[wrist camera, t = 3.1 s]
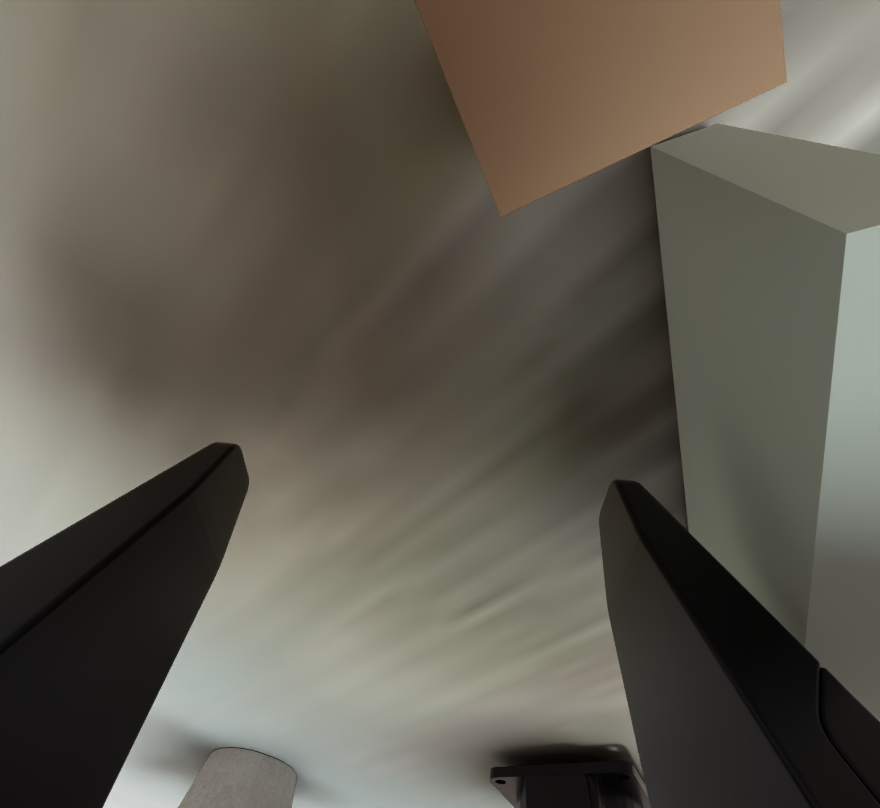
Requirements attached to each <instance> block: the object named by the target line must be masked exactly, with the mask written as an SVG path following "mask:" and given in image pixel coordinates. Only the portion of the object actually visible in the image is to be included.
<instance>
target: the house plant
mask: <svg viewBox="0 0 880 808" xmlns="http://www.w3.org/2000/svg"><path fill="white" fill-rule="evenodd" d="M296 778H297V776H296V773H295V772H294V770H293V769H292V768H291V767H289V766H288V765H287V764H285V763H283V762H281V761H279V760H277V759H275V758H272V757H269V756H267V755H264V754H261V753H258V752H255V751H251V750H245V749H239V748H222V749H218V750H215V751H213V752H212V753H211V754H210V755H209V757H208V759H207V760H206V762H205V764H204V765H203V767H202V769H201V770H200V772H199V774H198V775H197V777H196V779H195V780H194V782H193V784H192V785H191V787H190V789H189V790H188V792H187V794H186V795H185V797H184V799H183V800H182V802H181V804H180V805H179V807H178V808H291V807H292V801H293V796H294V790H295V784H296Z"/></svg>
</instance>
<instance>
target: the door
mask: <svg viewBox="0 0 880 808" xmlns="http://www.w3.org/2000/svg"><path fill="white" fill-rule="evenodd" d="M650 148H651V158H652V168H653V178H654V188H655V198H656V208H657V218H658V228H659V238H660V248H661V259H662V269H663V279H664V289H665V299H666V309H667V319H668V329H669V339H670V349H671V359H672V369H673V379H674V389H675V399H676V409H677V419H678V429H679V439H680V449H681V459H682V470H683V480H684V490H685V500H686V510H687V520H688V530H689V533H690V534H691V535H692V536H693V537H694V538H695V539H696V540H697V541H698V542H699V543H700V544H701V545H702V546H703V547H704V548H705V549H706V550H707V551H708V552H709V553H710V554H711V555H712V556H713V557H714V558H715V559H716V560H717V561H718V562H719V563H720V564H721V565H722V566H724V567H725V568H726V569H727V570H728V571H729V572H730V573H731V574H732V575H733V576H734V577H735V578H736V579H737V580H738V581H739V582H740V583H741V584H742V585H743V586H744V587H745V588H746V589H747V590H748V591H749V592H750V593H751V594H752V595H753V596H754V597H755V598H756V599H757V600H758V601H759V602H760V603H761V604H762V605H763V606H764V607H765V608H766V609H767V610H768V611H769V612H770V613H771V614H772V615H773V616H774V617H775V618H776V619H777V620H778V621H779V622H780V623H781V624H782V625H783V626H784V627H785V628H786V629H787V630H788V631H789V632H790V633H791V634H792V635H793V636H794V637H795V638H796V639H797V640H798V641H799V642H800V643H801V644H802V645H803V646H804V647H805V648H806V649H807V650H808V651H809V652H810V653H811V654H812V655H813V656H814V657H815V658H816V659H817V660H818V661H819V663H820V668H821V667H823V668H826V669H827V670H828V671H829V672H830V673H831V674H832V675H833V676H834V677H835V678H836V679H837V680H838V681H839V682H840V683H841V684H842V685H843V686H844V687H845V688H846V689H847V690H848V691H849V692H850V693H851V694H852V695H853V696H854V697H855V698H856V699H857V700H858V701H860V702H861V703H862V704H863V705H864V706H865V707H866V708H867V709H868V710H869V711H870V712H871V713H872V714H873V715H874V716H875V717H876V718H877V719H878V720H880V155H877V154H872V153H867V152H861V151H856V150H851V149H846V148H841V147H836V146H830V145H825V144H820V143H815V142H810V141H805V140H799V139H794V138H789V137H784V136H779V135H773V134H768V133H763V132H758V131H753V130H748V129H742V128H737V127H732V126H727V125H722V124H715V125H712V126H709V127H706V128H703V129H700V130H697V131H694V132H691V133H688V134H685V135H682V136H679V137H677V138H674V139H671V140H668V141H665V142H662V143H659V144H656V145H653V146H650Z"/></svg>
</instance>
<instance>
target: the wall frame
mask: <svg viewBox="0 0 880 808" xmlns="http://www.w3.org/2000/svg"><path fill="white" fill-rule="evenodd" d="M414 1H415V3H416V6H417V8H418V11H419V13H420V16H421V18H422V21H423V23H424V26H425V28H426V31H427V33H428V36H429V38H430V41H431V43H432V46H433V48H434V51H435V53H436V56H437V58H438V61H439V63H440V66H441V68H442V71H443V73H444V76H445V78H446V81H447V83H448V86H449V88H450V91H451V93H452V96H453V98H454V101H455V103H456V106H457V108H458V111H459V113H460V116H461V118H462V121H463V123H464V126H465V128H466V131H467V133H468V136H469V138H470V141H471V143H472V146H473V148H474V151H475V153H476V156H477V158H478V161H479V163H480V166H481V169H482V171H483V174H484V176H485V179H486V181H487V184H488V186H489V189H490V191H491V194H492V196H493V199H494V201H495V204H496V206H497V209H498V211H499V214H500V216H503V215H505V214H508V213H510V212H512V211H514V210H516V209H518V208H520V207H522V206H525V205H527V204H529V203H531V202H533V201H535V200H537V199H539V198H542V197H544V196H546V195H548V194H550V193H552V192H554V191H556V190H559V189H561V188H563V187H565V186H567V185H569V184H571V183H573V182H575V181H578V180H580V179H582V178H584V177H586V176H588V175H590V174H592V173H595V172H597V171H599V170H601V169H603V168H605V167H607V166H609V165H612V164H614V163H616V162H618V161H620V160H622V159H624V158H626V157H629V156H631V155H633V154H635V153H637V152H639V151H641V150H643V149H645V148H648V147H650V146H652V145H654V144H656V143H658V142H660V141H662V140H665V139H667V138H669V137H671V136H673V135H675V134H677V133H679V132H682V131H684V130H686V129H688V128H690V127H692V126H694V125H696V124H699V123H701V122H703V121H705V120H707V119H709V118H711V117H713V116H715V115H718V114H720V113H722V112H724V111H726V110H728V109H730V108H732V107H735V106H737V105H739V104H741V103H743V102H745V101H747V100H749V99H752V98H754V97H756V96H758V95H760V94H762V93H764V92H766V91H769V90H771V89H773V88H775V87H777V86H779V85H781V84H783V83H785V82H787V78H786V67H785V57H784V46H783V35H782V25H781V14H780V3H779V0H414Z"/></svg>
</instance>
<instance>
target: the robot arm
mask: <svg viewBox="0 0 880 808" xmlns="http://www.w3.org/2000/svg"><path fill="white" fill-rule="evenodd" d="M248 486H249V477H248V473H247V469H246V465H245V461H244V458H243V454H242V450H241V448H240V447H239V446H238V445H237V444H233V443H222V442H215V443H212V444H210V445H209V446H207V447H205V448H203V449H202V450H200V451H198V452H197V453H195V454H193V455H191V456H190V457H188V458H186V459H185V460H183V461H181V462H179V463H178V464H176V465H174V466H173V467H171V468H169V469H167V470H166V471H164V472H162V473H160V474H159V475H157V476H155V477H154V478H152V479H150V480H148V481H147V482H145V483H143V484H142V485H140V486H138V487H136V488H135V489H133V490H131V491H130V492H128V493H126V494H124V495H123V496H121V497H119V498H118V499H116V500H114V501H112V502H111V503H109V504H107V505H106V506H104V507H102V508H100V509H99V510H97V511H95V512H93V513H92V514H90V515H88V516H87V517H85V518H83V519H81V520H80V521H78V522H76V523H75V524H73V525H71V526H69V527H68V528H66V529H64V530H63V531H61V532H59V533H57V534H56V535H54V536H52V537H50V538H49V539H47V540H45V541H44V542H42V543H40V544H38V545H37V546H35V547H33V548H32V549H30V550H28V551H26V552H25V553H23V554H21V555H19V556H18V557H16V558H14V559H13V560H11V561H9V562H7V563H6V564H4V565H2V566H1V567H0V808H103V806H104V803H105V801H106V799H107V797H108V795H109V793H110V791H111V789H112V787H113V785H114V783H115V781H116V779H117V777H118V775H119V773H120V771H121V769H122V767H123V765H124V763H125V760H126V758H127V756H128V754H129V752H130V750H131V748H132V746H133V744H134V742H135V740H136V738H137V736H138V734H139V732H140V730H141V728H142V726H143V724H144V722H145V720H146V717H147V715H148V713H149V711H150V709H151V707H152V705H153V703H154V701H155V699H156V697H157V695H158V693H159V691H160V689H161V687H162V685H163V683H164V681H165V679H166V676H167V674H168V672H169V670H170V668H171V666H172V664H173V662H174V660H175V658H176V656H177V654H178V652H179V650H180V648H181V646H182V644H183V642H184V640H185V638H186V636H187V633H188V631H189V629H190V627H191V625H192V623H193V621H194V619H195V617H196V615H197V613H198V611H199V609H200V607H201V605H202V603H203V601H204V599H205V597H206V595H207V593H208V590H209V588H210V586H211V584H212V582H213V580H214V578H215V576H216V574H217V572H218V569H219V567H220V565H221V562H222V560H223V557H224V555H225V552H226V549H227V546H228V543H229V541H230V538H231V535H232V532H233V529H234V527H235V524H236V521H237V518H238V516H239V513H240V510H241V507H242V504H243V502H244V499H245V496H246V493H247V490H248ZM599 527H600V537H601V547H602V557H603V568H604V578H605V588H606V598H607V606H608V612H609V617H610V623H611V627H612V632H613V637H614V641H615V646H616V651H617V655H618V660H619V664H620V669H621V674H622V678H623V683H624V688H625V692H626V697H627V701H628V706H629V711H630V715H631V720H632V725H633V729H634V734H635V739H636V743H637V748H638V752H639V757H640V762H641V766H642V771H643V776H644V780H645V784H644V782H643V780H642V779H641V777H640V775H639V774H638V772H637V770H636V769H635V767H634V765H633V764H631V763H629V762H626V761H606V762H586V763H566V764H547V765H527V766H507V767H494V768H491V769H490V782H491V783H492V784H493V785H494V786H495V787H496V788H497V790H498V791H499V792H500V793H501V794H502V795H503V796H504V797H505V798H506V799H507V800H508V801H509V802H510V803H511V804H512V805H513V806H514V807H515V808H880V721H879V720H878V719H877V718H876V717H875V716H874V715H873V714H872V713H871V712H870V711H869V710H868V709H867V708H866V707H865V706H864V705H863V704H862V703H861V702H860V701H858V700H857V699H856V698H855V697H854V696H853V695H852V694H851V693H850V692H849V691H848V690H847V689H846V688H845V687H844V686H843V685H842V684H841V683H840V682H839V681H838V680H837V679H836V678H835V677H834V676H833V675H832V674H831V673H830V672H829V671H828V670H827V669H826V668H823V667H821V668H820V663H819V661H818V660H817V659H816V658H815V657H814V656H813V655H812V654H811V653H810V652H809V651H808V650H807V649H806V648H805V647H804V646H803V645H802V644H801V643H800V642H799V641H798V640H797V639H796V638H795V637H794V636H793V635H792V634H791V633H790V632H789V631H788V630H787V629H786V628H785V627H784V626H783V625H782V624H781V623H780V622H779V621H778V620H777V619H776V618H775V617H774V616H773V615H772V614H771V613H770V612H769V611H768V610H767V609H766V608H765V607H764V606H763V605H762V604H761V603H760V602H759V601H758V600H757V599H756V598H755V597H754V596H753V595H752V594H751V593H750V592H749V591H748V590H747V589H746V588H745V587H744V586H743V585H742V584H741V583H740V582H739V581H738V580H737V579H736V578H735V577H734V576H733V575H732V574H731V573H730V572H729V571H728V570H727V569H726V568H725V567H724V566H722V565H721V564H720V563H719V562H718V561H717V560H716V559H715V558H714V557H713V556H712V555H711V554H710V553H709V552H708V551H707V550H706V549H705V548H704V547H703V546H702V545H701V544H700V543H699V542H698V541H697V540H696V539H695V538H694V537H693V536H692V535H691V534H690V533H689V532H688V531H687V530H686V529H685V528H684V527H683V526H682V525H681V524H680V523H679V522H678V521H677V520H676V519H675V518H674V517H673V516H672V515H671V514H670V513H669V512H668V511H667V510H666V509H665V508H664V507H663V506H662V505H661V504H660V503H659V502H658V501H657V500H656V499H655V498H654V497H653V496H652V495H651V494H650V493H649V492H648V491H647V490H646V489H645V488H644V487H643V486H642V485H641V484H640V483H638V482H636V481H629V480H619V479H616V480H613V481H612V482H611V484H610V486H609V489H608V491H607V494H606V497H605V500H604V503H603V506H602V508H601V512H600V518H599Z"/></svg>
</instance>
